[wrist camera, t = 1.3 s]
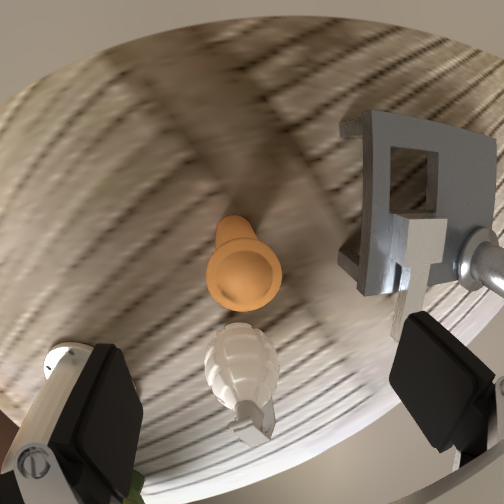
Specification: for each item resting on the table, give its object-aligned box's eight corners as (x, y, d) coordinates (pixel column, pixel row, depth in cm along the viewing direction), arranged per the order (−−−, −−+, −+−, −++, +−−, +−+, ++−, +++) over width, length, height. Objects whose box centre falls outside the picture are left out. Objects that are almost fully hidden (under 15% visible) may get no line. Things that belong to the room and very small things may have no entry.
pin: (258, 254, 26) (282, 308, 17) (211, 257, 26) (209, 314, 17) (257, 208, 25) (281, 238, 16) (208, 211, 25) (202, 243, 15)
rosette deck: (447, 284, 31) (517, 333, 18) (331, 303, 29) (393, 387, 17) (461, 138, 25) (550, 146, 13) (336, 119, 23) (430, 97, 11)
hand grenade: (284, 350, 30) (318, 445, 18) (232, 374, 30) (243, 473, 18) (250, 295, 28) (275, 393, 15) (193, 324, 28) (184, 428, 16)
